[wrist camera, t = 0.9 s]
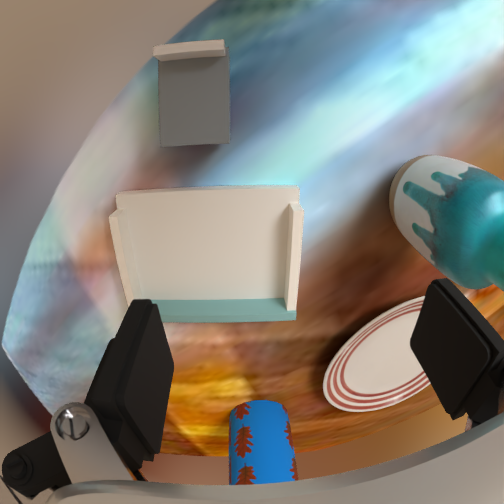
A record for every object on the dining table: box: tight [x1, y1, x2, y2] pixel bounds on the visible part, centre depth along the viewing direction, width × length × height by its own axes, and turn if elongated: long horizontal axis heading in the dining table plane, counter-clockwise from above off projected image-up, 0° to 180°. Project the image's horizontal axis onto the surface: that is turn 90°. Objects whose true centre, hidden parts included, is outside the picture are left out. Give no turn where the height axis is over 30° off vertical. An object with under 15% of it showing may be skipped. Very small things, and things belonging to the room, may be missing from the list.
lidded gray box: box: [153, 39, 231, 147], centre depth 22 cm, size 8×6×9 cm
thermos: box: [229, 400, 298, 485], centre depth 37 cm, size 11×11×25 cm
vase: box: [389, 155, 504, 291], centre depth 22 cm, size 11×11×19 cm
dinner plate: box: [323, 296, 430, 412], centre depth 42 cm, size 27×27×3 cm
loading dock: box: [108, 185, 304, 323], centre depth 31 cm, size 14×19×4 cm
